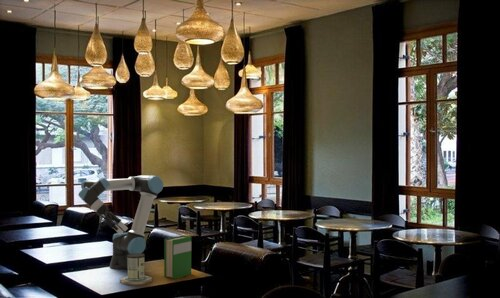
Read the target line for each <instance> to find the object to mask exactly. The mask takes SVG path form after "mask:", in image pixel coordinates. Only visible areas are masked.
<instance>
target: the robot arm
mask: <svg viewBox="0 0 500 298" xmlns="http://www.w3.org/2000/svg"><path fill="white" fill-rule="evenodd" d="M80 188H81V190H80V191H79V192H78V194H77V195H78V196H79V198H80V199H81V200H82V201H83V202H84V203H85V204H86V205H87V206H88V207H89V208H90V209H91V211H94V212H95V213H96V214H97V216H98V217H101V218H102V219H103V220H104V221H105V223H106V224H107V225H108V227H110V229H114V230H115V232H116V233H114V234H113V235H112V257H111V261H110V263H109V268H110V269H114V270H124V269H125V270H126V269H127V270H128V257H127V255H129V254H135V253H140V254H143V252H144V251H145V250H146V245H147V244H146V240H145V237H146V235H145V230H146V227H147V223H148V219H149V216H150V212H151V209H152V207H153V203H154V199H156V198H157V197H158V194H159V193H160V192H162V191H163V188H164V183H163V180H162V178H161V177H160V176H157V175H154V174H153V175H148V174H142V175H137V176H135V175H134V176H129V177H128V178H112V179H111V178H110V179H107V178H106V177H100V178H99V179H84V180H83V181H82V182H81V184H80ZM124 190H129V191H132V192H134V191H135V192H139V194H140V198H139V199H140V200H139V203H138V205H137V209H136V212H135V216H134V219H133V223H132V226H131V229H130V230H128V229H129V228H128V226H126V224H124V222H123V221H122V219H121V218H120V217H118V216H117V215H115V214H114V213H113V212H112V211H111V210H108V209H109V206H107V204H105V203H104V202H103V201H102V199H100V196H101V194H103V193H104V192H108V191H109V192H110V191H124ZM127 230H128V231H127ZM126 231H127V232H126Z"/></svg>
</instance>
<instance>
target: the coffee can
mask: <svg viewBox="0 0 500 298" xmlns="http://www.w3.org/2000/svg"><path fill="white" fill-rule="evenodd" d="M145 255H146V254H144V253H135V254H129V255H127V257H128V268H127V276H128V279H129V280H141V279H144V278H145V276H146V275H145V272H146V271H145V269H146V268H145V264H146V263H145V262H146V261H145V260H146V259H145Z"/></svg>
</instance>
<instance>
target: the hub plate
mask: <svg viewBox="0 0 500 298" xmlns="http://www.w3.org/2000/svg"><path fill="white" fill-rule="evenodd" d="M152 282H153V277H152V276H149V275H145V278H144V279H141V280H129V279H128V275H127V276H123V277H121V278H120V279H119V283H120V284H122V285H126V286H138V285H139V286H140V285H147V284H150V283H152Z"/></svg>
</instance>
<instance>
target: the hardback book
mask: <svg viewBox="0 0 500 298" xmlns="http://www.w3.org/2000/svg"><path fill="white" fill-rule="evenodd" d="M163 244H164V246H163V247H164V253H163V256H164V261H163V263H164V264H163V266H164V267H163V268H164V269H163V277H164V279H165V278H166V279H167V278H172V280H174V279H175V280H176V279H179V278H182V277H186V276H188V275H192V236H190V235H178V236H173V237H168V238H164V243H163Z"/></svg>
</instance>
